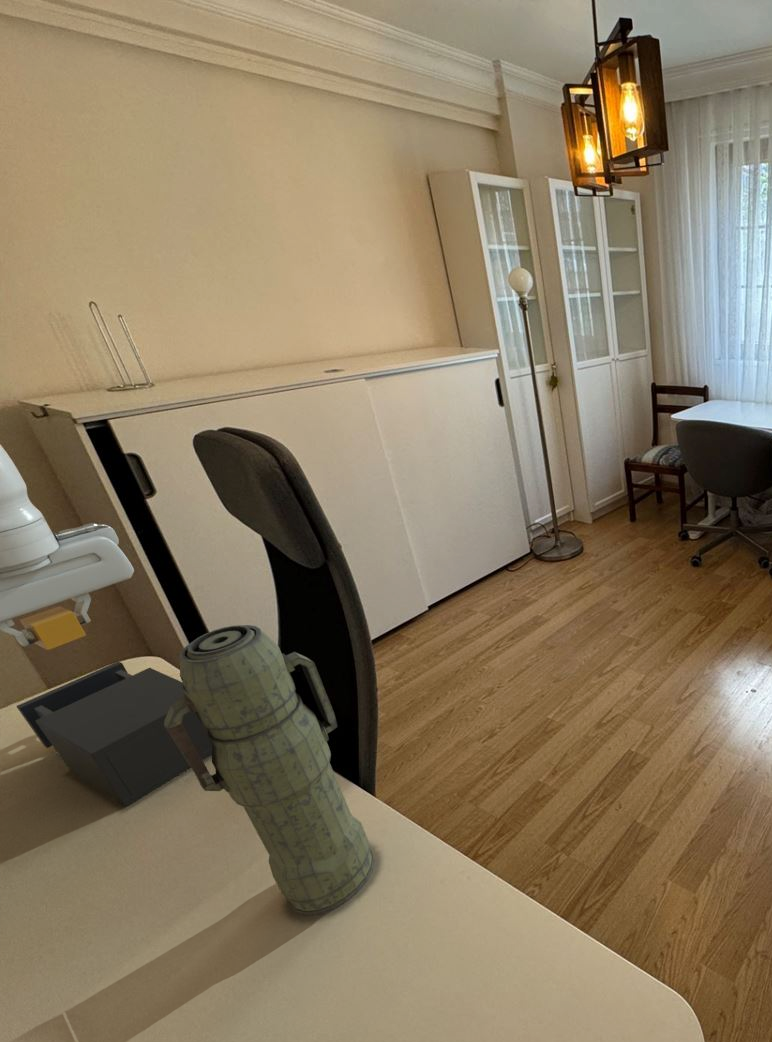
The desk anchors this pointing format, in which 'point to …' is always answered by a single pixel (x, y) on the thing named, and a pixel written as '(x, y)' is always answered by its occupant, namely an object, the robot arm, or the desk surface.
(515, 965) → the desk surface
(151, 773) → the cabinet
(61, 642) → the block
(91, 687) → the drawer
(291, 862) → the thermos
